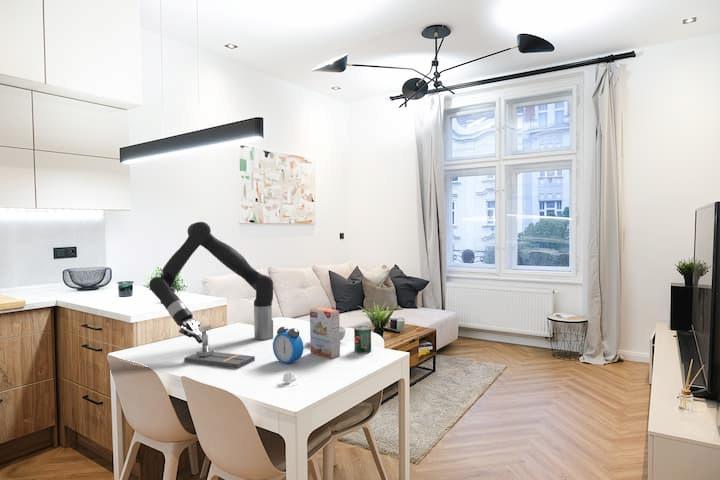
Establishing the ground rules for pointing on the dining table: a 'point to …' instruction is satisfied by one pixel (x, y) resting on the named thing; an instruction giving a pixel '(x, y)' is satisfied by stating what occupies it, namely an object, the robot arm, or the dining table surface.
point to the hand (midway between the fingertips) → (202, 341)
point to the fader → (204, 341)
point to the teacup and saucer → (288, 379)
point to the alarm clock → (287, 345)
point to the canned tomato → (362, 339)
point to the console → (221, 360)
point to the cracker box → (324, 332)
